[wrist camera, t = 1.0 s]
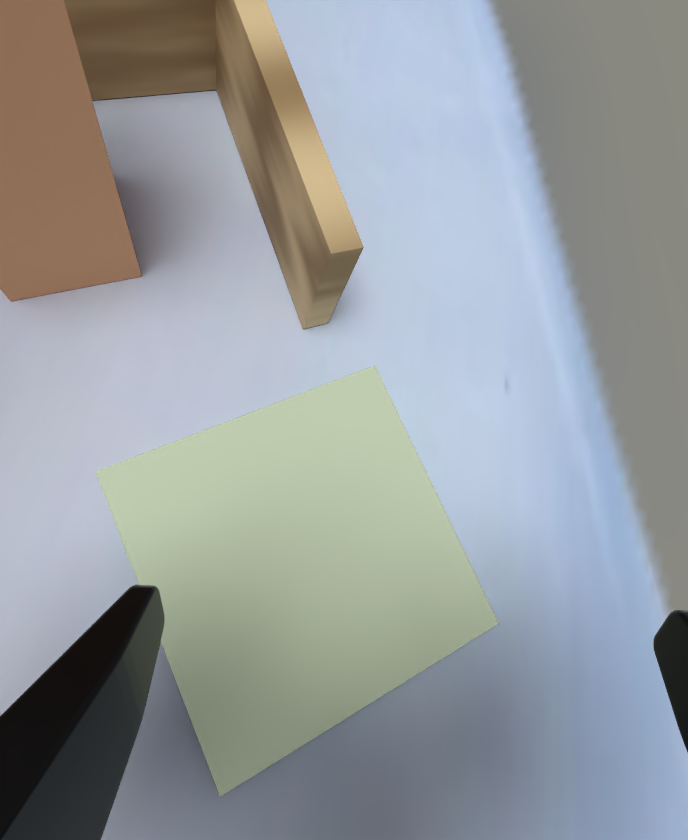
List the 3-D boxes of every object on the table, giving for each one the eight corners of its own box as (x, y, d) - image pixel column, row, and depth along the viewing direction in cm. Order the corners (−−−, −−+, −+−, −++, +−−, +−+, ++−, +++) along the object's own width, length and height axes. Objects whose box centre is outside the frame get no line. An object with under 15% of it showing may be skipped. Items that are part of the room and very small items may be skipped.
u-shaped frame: (328, 323, 23) (363, 247, 17) (-195, 450, 17) (-402, 398, 11) (232, 67, 25) (236, -74, 19) (-256, 103, 19) (-452, -82, 14)
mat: (220, 791, 17) (220, 797, 17) (97, 473, 19) (95, 471, 19) (494, 622, 21) (499, 623, 21) (372, 368, 23) (374, 365, 22)
